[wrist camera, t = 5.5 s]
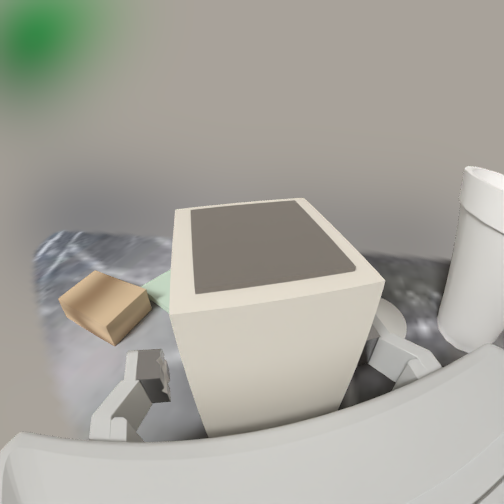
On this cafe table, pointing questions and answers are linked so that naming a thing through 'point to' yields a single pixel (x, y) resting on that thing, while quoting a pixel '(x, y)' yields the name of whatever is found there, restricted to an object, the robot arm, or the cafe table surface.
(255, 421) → the canister
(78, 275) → the cafe table surface
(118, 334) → the oak block
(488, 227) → the foam cup
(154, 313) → the cafe table surface
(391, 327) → the white pebble stone
